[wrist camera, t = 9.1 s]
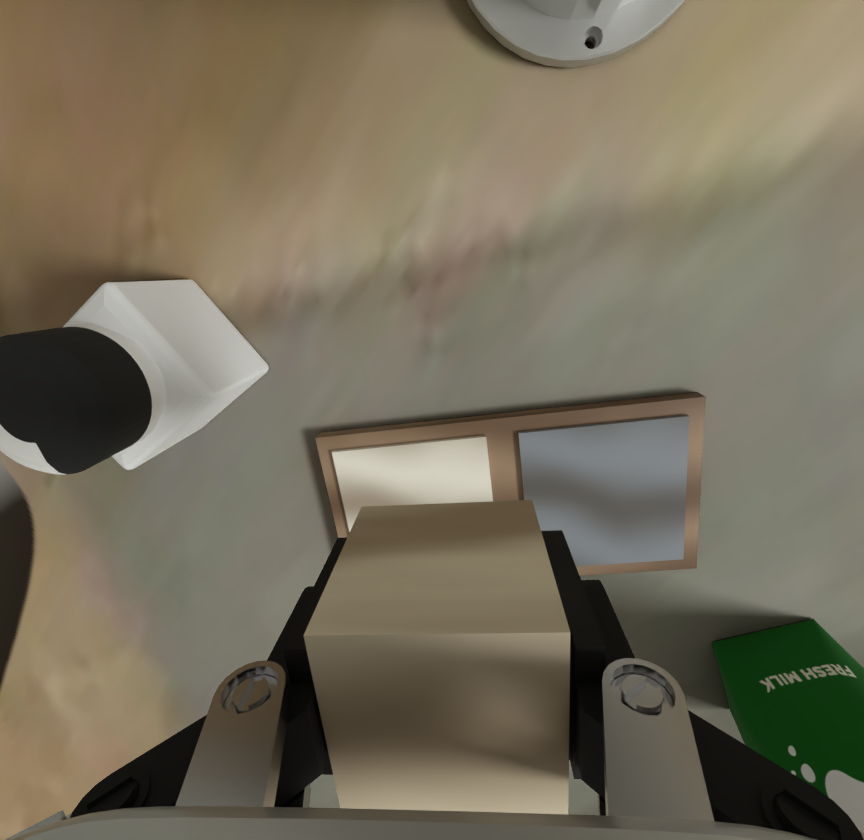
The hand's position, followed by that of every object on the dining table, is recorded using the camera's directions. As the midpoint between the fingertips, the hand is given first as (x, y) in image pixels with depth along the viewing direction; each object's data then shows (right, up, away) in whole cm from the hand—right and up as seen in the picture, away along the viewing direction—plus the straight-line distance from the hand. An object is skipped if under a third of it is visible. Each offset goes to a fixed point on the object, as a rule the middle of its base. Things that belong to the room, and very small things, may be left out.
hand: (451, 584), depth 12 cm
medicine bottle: (-16, +9, +17) cm, 25 cm away
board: (+5, -1, +18) cm, 19 cm away
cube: (0, 0, 0) cm, 0 cm away
